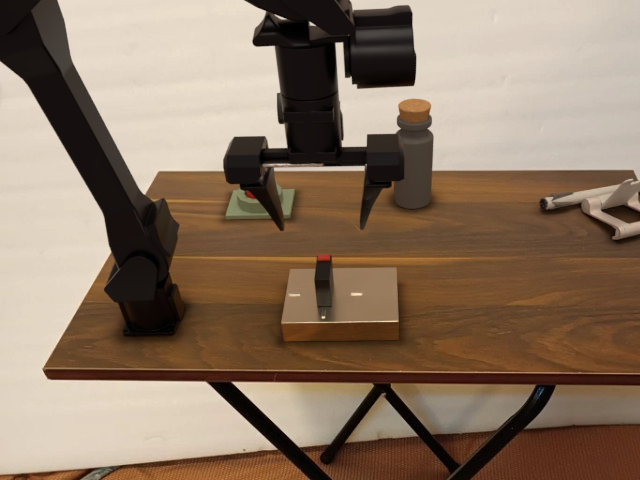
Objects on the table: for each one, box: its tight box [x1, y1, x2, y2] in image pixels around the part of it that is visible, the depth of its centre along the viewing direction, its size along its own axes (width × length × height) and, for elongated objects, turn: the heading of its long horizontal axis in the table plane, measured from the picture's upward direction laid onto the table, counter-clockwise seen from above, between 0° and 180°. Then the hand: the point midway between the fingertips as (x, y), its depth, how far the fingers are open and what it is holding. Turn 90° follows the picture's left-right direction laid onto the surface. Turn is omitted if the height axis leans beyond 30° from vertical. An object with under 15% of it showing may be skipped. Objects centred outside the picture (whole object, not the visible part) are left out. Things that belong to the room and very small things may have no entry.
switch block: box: [224, 182, 296, 220], centre depth 99 cm, size 10×8×2 cm
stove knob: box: [314, 254, 334, 306], centre depth 77 cm, size 5×2×4 cm, turn 0°
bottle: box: [393, 98, 435, 210], centre depth 95 cm, size 6×6×15 cm
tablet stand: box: [580, 178, 640, 241], centre depth 94 cm, size 9×8×8 cm
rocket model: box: [538, 180, 640, 211], centre depth 99 cm, size 2×2×30 cm
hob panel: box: [280, 266, 400, 342], centre depth 80 cm, size 14×11×3 cm
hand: (322, 228), depth 73 cm, fingers open, 9 cm apart
